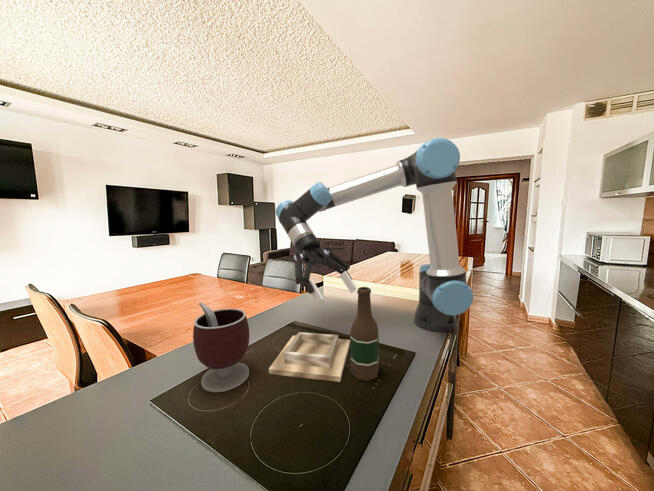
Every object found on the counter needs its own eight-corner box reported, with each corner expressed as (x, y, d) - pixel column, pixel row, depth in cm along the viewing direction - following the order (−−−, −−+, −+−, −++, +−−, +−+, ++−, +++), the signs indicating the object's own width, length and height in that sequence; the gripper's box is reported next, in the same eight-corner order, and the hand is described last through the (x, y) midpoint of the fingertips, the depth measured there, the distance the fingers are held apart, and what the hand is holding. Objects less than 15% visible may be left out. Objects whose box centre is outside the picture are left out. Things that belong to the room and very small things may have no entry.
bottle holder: (350, 343, 89) (349, 331, 88) (340, 381, 70) (339, 365, 69) (293, 339, 93) (292, 327, 93) (269, 373, 74) (268, 358, 73)
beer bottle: (360, 361, 79) (359, 282, 75) (384, 371, 74) (384, 287, 70) (345, 374, 73) (343, 289, 69) (370, 385, 68) (369, 294, 65)
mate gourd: (262, 370, 76) (258, 302, 73) (221, 401, 64) (214, 321, 61) (226, 356, 83) (220, 294, 81) (183, 381, 72) (175, 310, 69)
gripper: (327, 243, 97) (359, 292, 88) (266, 252, 80) (298, 314, 71) (337, 229, 92) (372, 280, 83) (274, 236, 75) (310, 299, 67)
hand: (338, 296), depth 77 cm, fingers open, 13 cm apart
